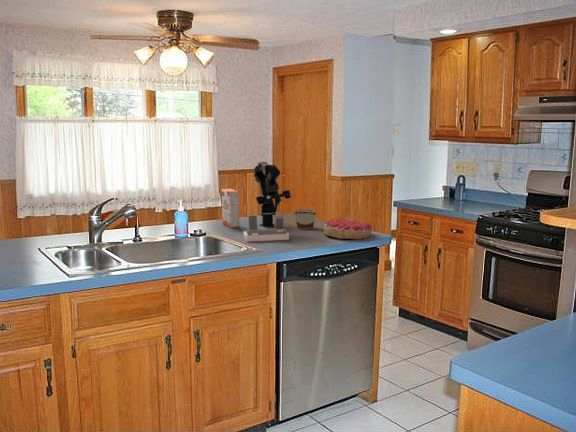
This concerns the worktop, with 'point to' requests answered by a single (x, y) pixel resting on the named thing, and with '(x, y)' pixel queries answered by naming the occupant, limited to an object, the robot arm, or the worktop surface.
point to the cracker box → (230, 207)
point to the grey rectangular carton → (278, 222)
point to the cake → (347, 229)
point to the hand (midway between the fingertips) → (275, 211)
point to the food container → (305, 218)
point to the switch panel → (266, 235)
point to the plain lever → (252, 222)
